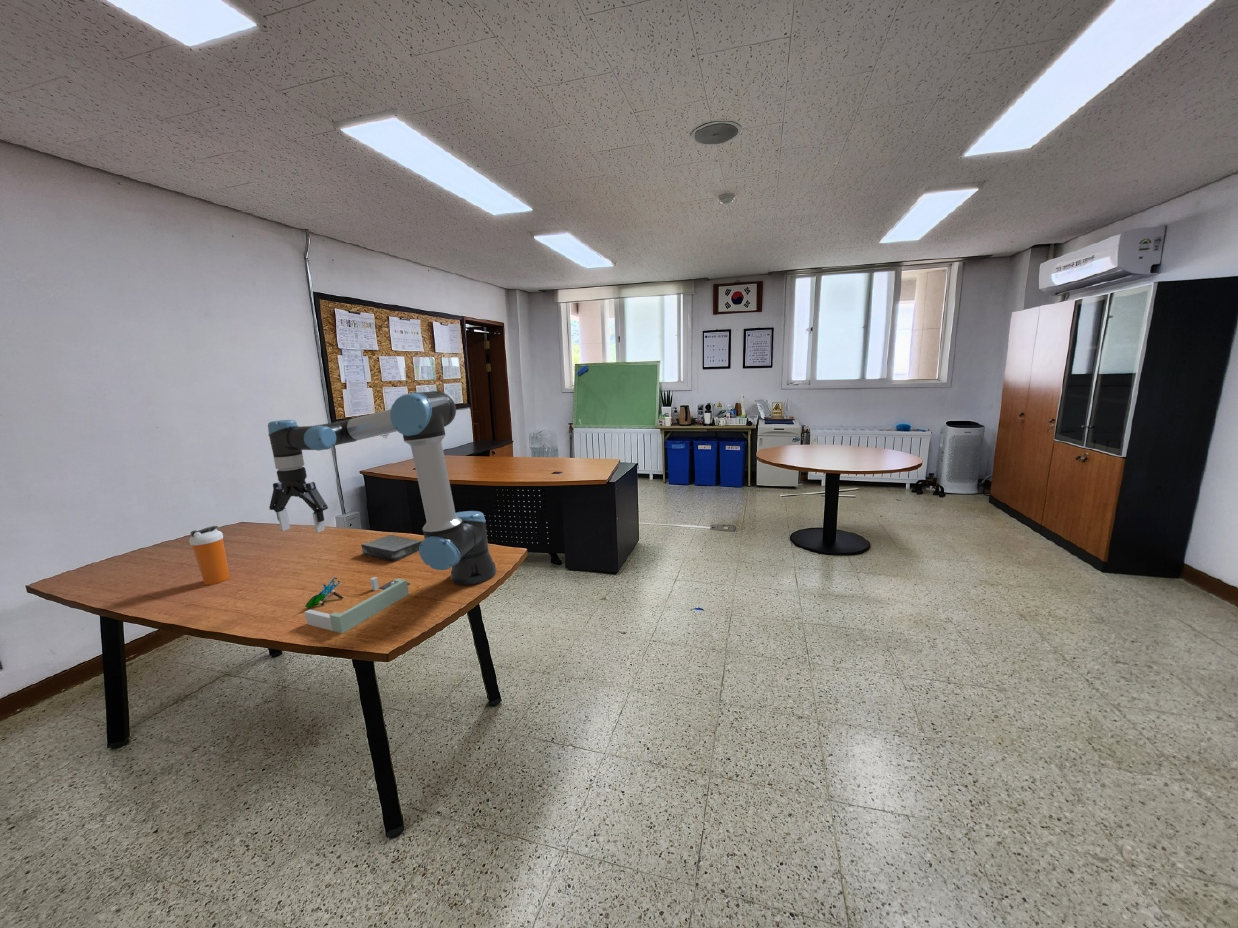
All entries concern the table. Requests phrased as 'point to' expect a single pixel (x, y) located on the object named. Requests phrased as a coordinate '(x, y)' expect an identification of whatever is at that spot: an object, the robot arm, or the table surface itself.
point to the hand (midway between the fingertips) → (303, 530)
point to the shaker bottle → (210, 555)
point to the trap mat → (389, 585)
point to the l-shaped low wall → (324, 619)
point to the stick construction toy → (323, 594)
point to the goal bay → (369, 607)
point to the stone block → (390, 548)
